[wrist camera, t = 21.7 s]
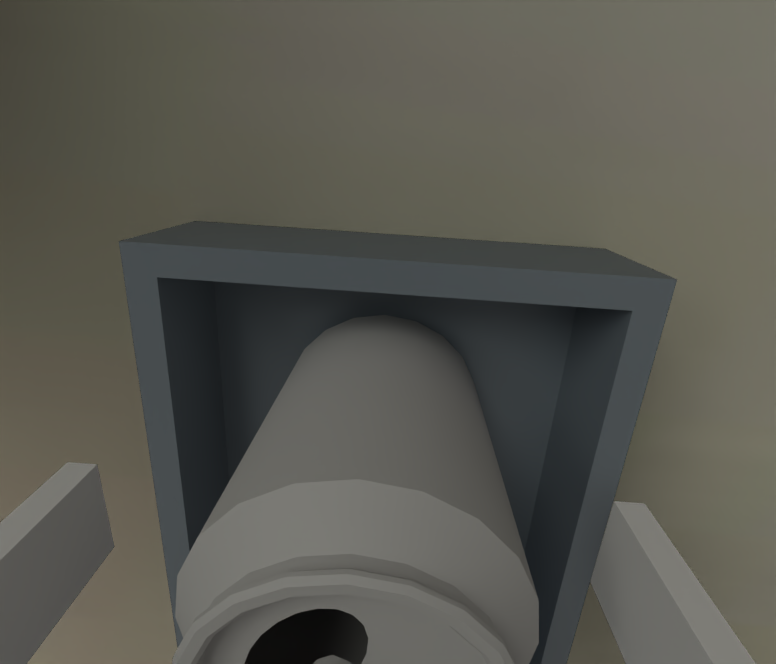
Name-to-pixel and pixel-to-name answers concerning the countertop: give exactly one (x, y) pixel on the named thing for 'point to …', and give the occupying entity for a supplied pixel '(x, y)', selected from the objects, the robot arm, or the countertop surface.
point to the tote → (435, 311)
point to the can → (363, 520)
